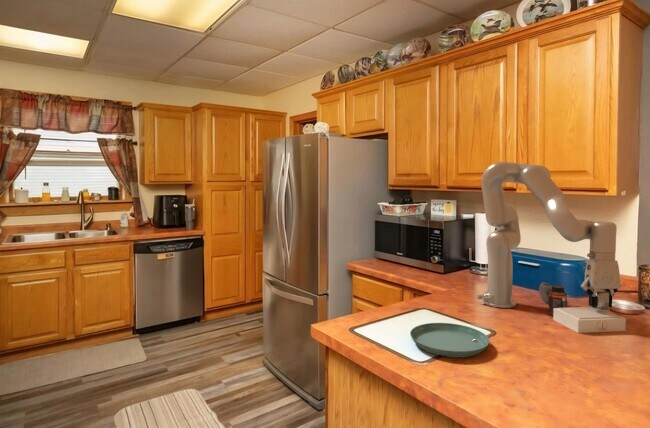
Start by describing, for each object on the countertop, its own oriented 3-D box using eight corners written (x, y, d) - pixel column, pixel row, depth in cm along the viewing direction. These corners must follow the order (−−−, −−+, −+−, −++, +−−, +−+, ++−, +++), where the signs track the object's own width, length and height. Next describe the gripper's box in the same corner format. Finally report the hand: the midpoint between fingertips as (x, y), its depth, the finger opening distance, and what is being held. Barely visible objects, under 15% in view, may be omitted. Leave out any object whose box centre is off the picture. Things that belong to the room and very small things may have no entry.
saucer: (501, 344, 125) (501, 334, 124) (468, 370, 108) (468, 359, 107) (433, 325, 142) (433, 316, 141) (395, 346, 125) (395, 336, 124)
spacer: (598, 310, 136) (599, 293, 136) (588, 305, 141) (588, 289, 141) (612, 309, 136) (613, 293, 136) (601, 305, 141) (602, 289, 141)
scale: (578, 333, 132) (579, 319, 131) (553, 319, 145) (553, 307, 144) (626, 331, 133) (626, 317, 132) (596, 317, 146) (597, 305, 145)
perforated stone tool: (557, 307, 159) (558, 291, 158) (543, 306, 161) (543, 289, 160) (551, 297, 173) (551, 282, 172) (538, 296, 175) (538, 281, 174)
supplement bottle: (568, 317, 147) (569, 288, 146) (551, 316, 148) (552, 287, 147) (562, 312, 152) (563, 284, 152) (546, 311, 154) (546, 283, 153)
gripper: (587, 259, 133) (585, 310, 134) (633, 257, 134) (631, 308, 135) (571, 255, 140) (570, 304, 142) (616, 253, 142) (614, 302, 143)
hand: (600, 305), depth 139 cm, fingers closed on spacer, 4 cm apart
